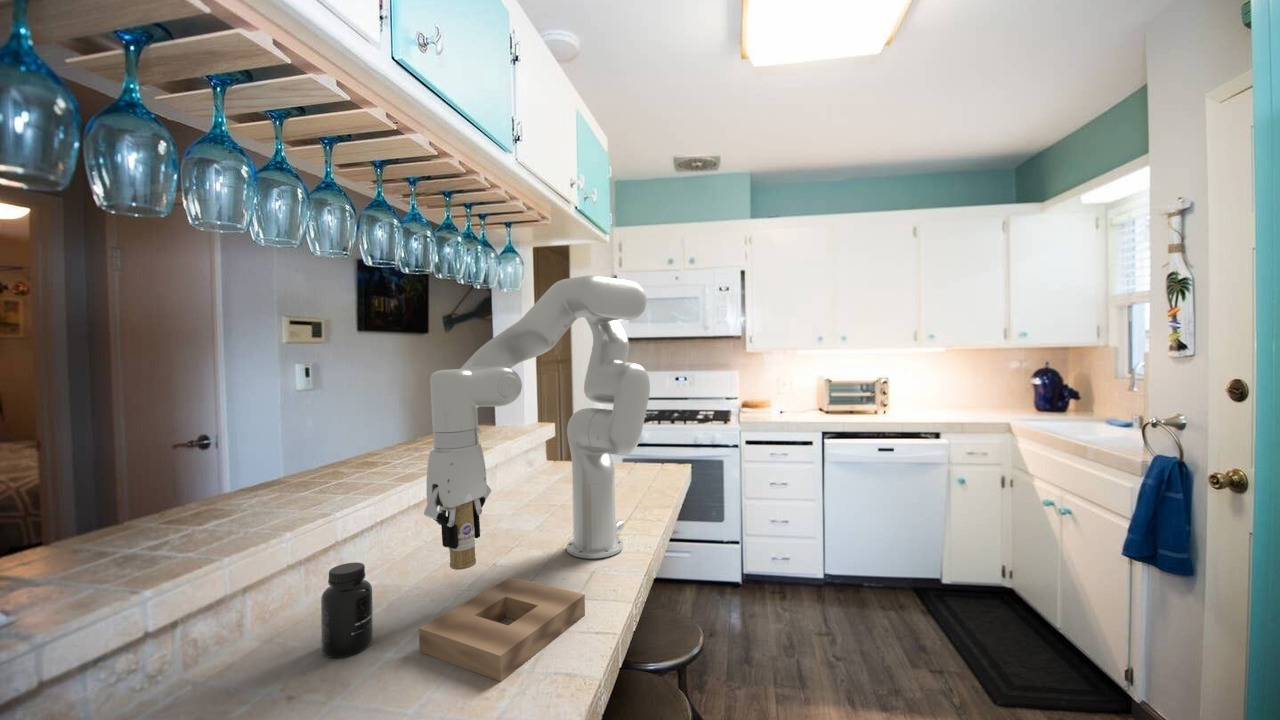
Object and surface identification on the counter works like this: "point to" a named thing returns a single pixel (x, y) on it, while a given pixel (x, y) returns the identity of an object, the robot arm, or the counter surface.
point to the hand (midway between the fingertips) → (461, 540)
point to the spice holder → (502, 627)
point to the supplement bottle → (346, 611)
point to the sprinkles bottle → (464, 537)
